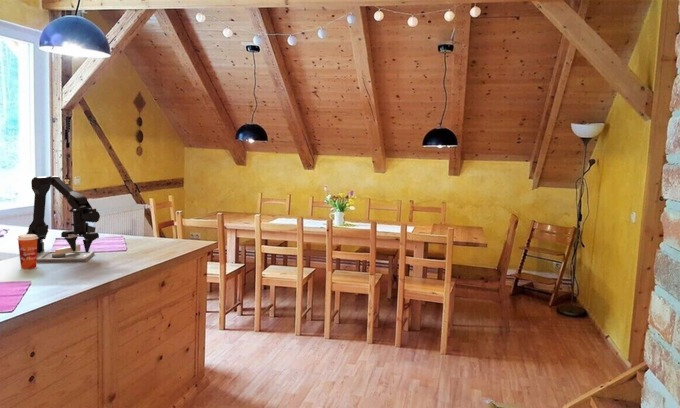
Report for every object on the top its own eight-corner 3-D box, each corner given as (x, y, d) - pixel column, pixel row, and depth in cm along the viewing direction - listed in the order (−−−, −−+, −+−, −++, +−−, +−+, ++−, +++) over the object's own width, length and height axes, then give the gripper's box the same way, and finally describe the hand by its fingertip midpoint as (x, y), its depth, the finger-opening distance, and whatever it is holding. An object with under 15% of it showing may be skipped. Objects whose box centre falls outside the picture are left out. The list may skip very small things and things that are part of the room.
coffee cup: (19, 270, 227) (18, 237, 226) (17, 266, 234) (15, 234, 232) (40, 268, 233) (39, 236, 231) (37, 264, 239) (36, 233, 237)
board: (35, 262, 242) (35, 258, 242) (47, 254, 258) (47, 250, 258) (85, 261, 247) (85, 257, 247) (94, 254, 263) (94, 250, 263)
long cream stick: (56, 258, 246) (56, 250, 246) (49, 256, 249) (48, 248, 248) (82, 252, 259) (82, 245, 258) (75, 251, 261) (74, 244, 261)
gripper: (106, 220, 257) (107, 250, 258) (77, 218, 262) (78, 247, 264) (89, 223, 246) (90, 254, 248) (59, 220, 252) (61, 251, 254)
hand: (80, 251), depth 254 cm, fingers open, 8 cm apart
